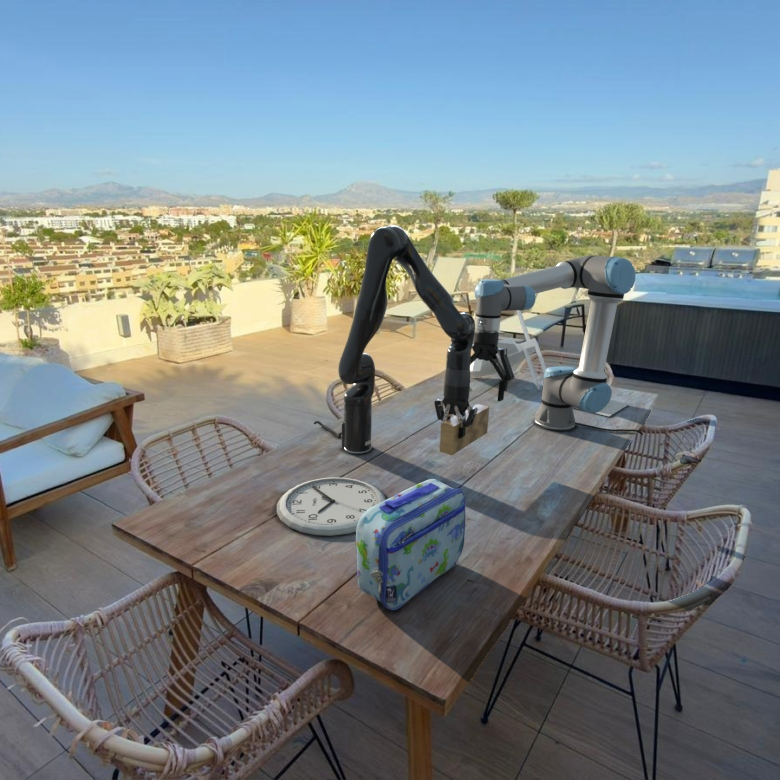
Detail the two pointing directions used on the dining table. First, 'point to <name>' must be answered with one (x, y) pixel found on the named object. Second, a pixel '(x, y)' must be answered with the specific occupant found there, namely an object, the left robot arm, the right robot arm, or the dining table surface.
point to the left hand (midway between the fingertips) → (453, 435)
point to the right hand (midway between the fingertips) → (481, 395)
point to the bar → (473, 432)
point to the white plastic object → (512, 355)
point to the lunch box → (409, 541)
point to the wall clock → (327, 505)
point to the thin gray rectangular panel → (611, 408)
